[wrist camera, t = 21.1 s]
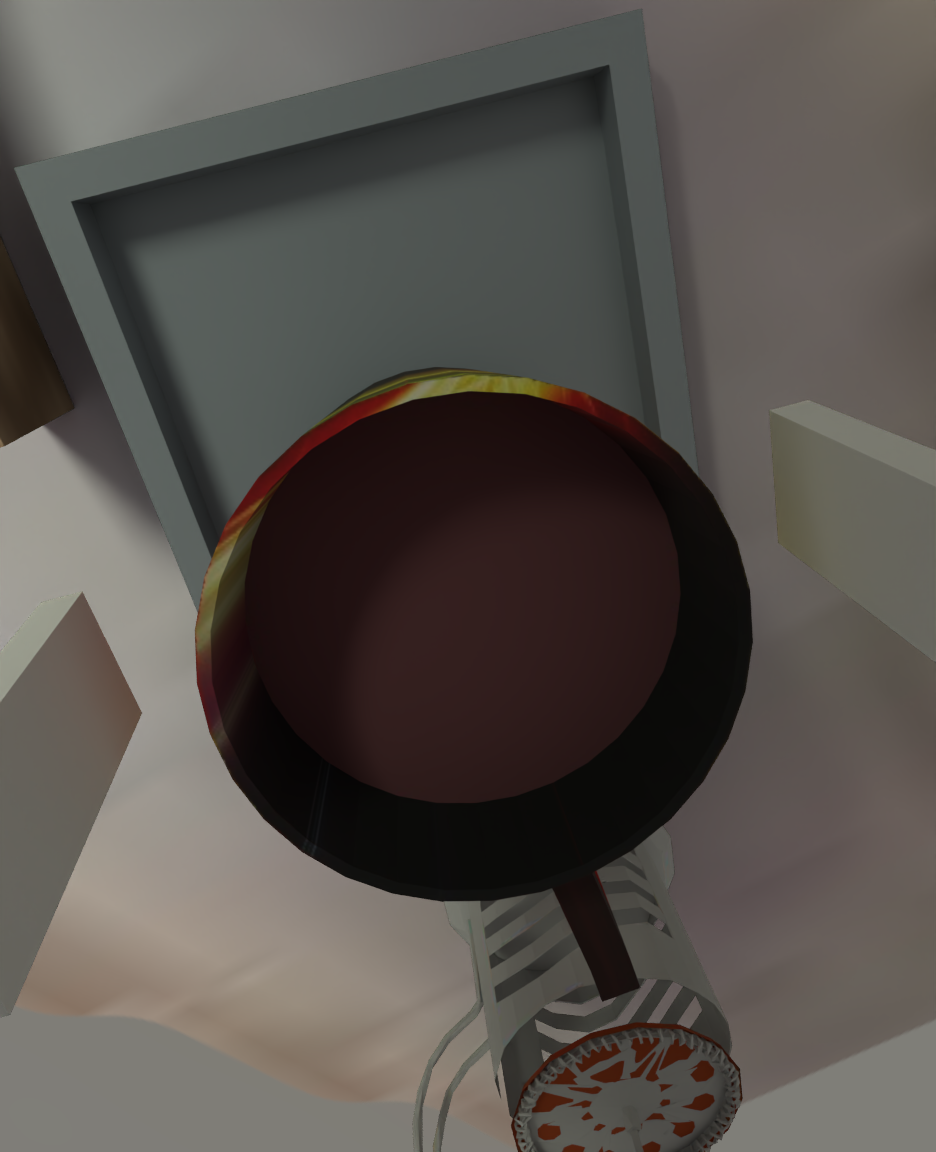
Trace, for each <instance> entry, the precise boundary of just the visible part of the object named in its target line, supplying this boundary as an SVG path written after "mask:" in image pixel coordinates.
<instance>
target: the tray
mask: <svg viewBox="0 0 936 1152" xmlns="http://www.w3.org/2000/svg"><path fill="white" fill-rule="evenodd" d="M14 169H15V172H16V174H17V176H18V179H19V181H20V184H21V186H22V189H23V191H24V193H25V196H26V198H27V201H28V203H29V205H30V208H31V210H32V213H33V215H34V218H35V220H36V222H37V225H38V227H39V230H40V232H41V234H42V237H43V239H44V242H45V244H46V247H47V249H48V251H49V254H50V256H51V259H52V261H53V264H54V266H55V268H56V271H57V273H58V276H59V278H60V280H61V283H62V285H63V288H64V290H65V293H66V295H67V297H68V300H69V302H70V305H71V307H72V309H73V312H74V314H75V317H76V319H77V322H78V324H79V326H80V329H81V331H82V334H83V336H84V338H85V341H86V343H87V346H88V348H89V351H90V353H91V355H92V358H93V360H94V363H95V365H96V367H97V370H98V372H99V375H100V377H101V380H102V382H103V384H104V387H105V389H106V392H107V394H108V396H109V399H110V401H111V404H112V406H113V409H114V411H115V413H116V416H117V418H118V421H119V423H120V425H121V428H122V430H123V433H124V435H125V438H126V440H127V442H128V445H129V447H130V450H131V452H132V454H133V457H134V459H135V462H136V464H137V467H138V469H139V471H140V474H141V476H142V479H143V481H144V483H145V486H146V488H147V491H148V493H149V496H150V498H151V500H152V503H153V505H154V508H155V510H156V513H157V515H158V517H159V520H160V522H161V525H162V527H163V529H164V532H165V534H166V537H167V539H168V542H169V544H170V546H171V549H172V551H173V554H174V556H175V558H176V561H177V563H178V566H179V568H180V571H181V573H182V575H183V578H184V580H185V583H186V585H187V587H188V590H189V592H190V595H191V597H192V600H193V602H194V604H195V607H196V609H197V612H198V610H199V604H200V599H201V593H202V587H203V582H204V576H205V574H206V571H207V569H208V567H209V564H210V562H211V559H212V557H213V554H214V552H215V550H216V547H217V545H218V542H219V540H220V537H221V535H222V532H223V530H224V528H225V525H226V523H227V522H228V521H229V519H230V518H231V516H232V515H233V513H234V512H235V510H236V509H237V507H238V506H239V504H240V503H241V502H242V500H243V499H244V497H245V496H246V494H247V493H248V491H249V490H250V488H251V487H252V485H253V484H254V483H255V481H256V480H257V478H258V477H259V476H260V475H261V474H262V473H263V472H264V471H265V470H266V469H267V468H268V467H269V466H270V465H271V464H272V463H274V462H275V461H276V460H277V459H278V458H279V457H280V456H281V455H282V454H283V453H284V452H285V451H286V450H287V449H288V448H289V447H290V446H291V445H292V444H293V443H294V442H296V441H297V440H298V439H299V438H300V437H301V436H302V435H303V434H305V433H306V432H307V431H308V430H310V429H311V428H312V427H313V426H315V425H316V424H317V423H319V422H320V421H321V420H322V419H324V418H325V417H326V416H327V415H329V414H330V413H331V412H333V411H334V410H335V409H336V408H338V407H339V406H340V405H341V404H343V403H344V402H345V401H347V400H348V399H349V398H351V397H353V396H354V395H356V394H357V393H359V392H361V391H362V390H364V389H365V388H367V387H369V386H370V385H372V384H373V383H375V382H378V381H380V380H383V379H386V378H389V377H391V376H394V375H397V374H399V373H402V372H405V371H412V370H419V369H425V368H432V367H446V368H466V369H473V370H480V371H487V372H493V373H500V374H507V375H513V376H520V377H527V378H531V379H535V380H539V381H543V382H546V383H550V384H554V385H558V386H562V387H565V388H569V389H573V390H577V391H581V392H584V393H586V394H588V395H590V396H592V397H594V398H596V399H598V400H600V401H602V402H604V403H606V404H608V405H610V406H612V407H614V408H616V409H618V410H620V411H622V412H624V413H626V414H628V415H631V416H633V417H635V418H636V419H637V420H639V421H640V422H641V423H642V424H644V425H645V426H646V427H647V428H649V429H650V430H651V431H652V432H654V433H655V434H656V435H657V436H659V437H660V438H661V439H662V440H664V441H665V442H666V443H667V444H669V445H670V446H671V447H672V448H674V449H675V450H676V451H677V452H679V453H680V455H681V456H682V457H683V458H684V460H685V461H686V462H687V463H688V465H689V466H690V467H691V468H692V469H693V471H694V472H695V473H696V474H697V476H698V477H699V471H698V463H697V455H696V447H695V439H694V430H693V422H692V414H691V406H690V398H689V390H688V381H687V373H686V365H685V357H684V349H683V341H682V332H681V324H680V316H679V308H678V300H677V292H676V283H675V275H674V267H673V259H672V251H671V243H670V234H669V226H668V218H667V210H666V202H665V194H664V185H663V177H662V169H661V161H660V153H659V145H658V136H657V128H656V120H655V112H654V104H653V96H652V87H651V79H650V71H649V63H648V55H647V47H646V38H645V30H644V22H643V14H642V9H638V10H634V11H630V12H627V13H623V14H619V15H615V16H611V17H607V18H603V19H599V20H595V21H591V22H587V23H583V24H579V25H575V26H571V27H567V28H563V29H560V30H556V31H552V32H548V33H544V34H540V35H536V36H532V37H528V38H524V39H520V40H516V41H512V42H508V43H504V44H500V45H496V46H492V47H489V48H485V49H481V50H477V51H473V52H469V53H465V54H461V55H457V56H453V57H449V58H445V59H441V60H437V61H433V62H429V63H425V64H421V65H418V66H414V67H410V68H406V69H402V70H398V71H394V72H390V73H386V74H382V75H378V76H374V77H370V78H366V79H362V80H358V81H354V82H351V83H347V84H343V85H339V86H335V87H331V88H327V89H323V90H319V91H315V92H311V93H307V94H303V95H299V96H295V97H291V98H287V99H283V100H280V101H276V102H272V103H268V104H264V105H260V106H256V107H252V108H248V109H244V110H240V111H236V112H232V113H228V114H224V115H220V116H216V117H212V118H209V119H205V120H201V121H197V122H193V123H189V124H185V125H181V126H177V127H173V128H169V129H165V130H161V131H157V132H153V133H149V134H145V135H142V136H138V137H134V138H130V139H126V140H122V141H118V142H114V143H110V144H106V145H102V146H98V147H94V148H90V149H86V150H82V151H78V152H74V153H71V154H67V155H63V156H59V157H55V158H51V159H47V160H43V161H39V162H35V163H31V164H27V165H23V166H19V167H15V168H14Z"/></svg>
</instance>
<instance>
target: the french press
mask: <svg viewBox="0 0 936 1152" xmlns="http://www.w3.org/2000/svg"><path fill="white" fill-rule="evenodd" d="M597 873H598V876H599V879H600V881H601V884H602V886H603V889H604V892H605V894H606V897H607V899H608V902H609V905H610V907H611V910H612V912H613V915H614V918H615V920H616V923H617V925H618V928H619V931H620V933H621V936H622V939H623V941H624V944H625V946H626V949H627V952H628V954H629V957H630V960H631V962H632V965H633V968H634V971H635V973H636V976H637V979H638V982H639V984H640V987H641V986H642V985H643V984H644V982H645V980H646V979H658V980H657V982H656V983H655V985H654V986H653V988H652V990H651V991H650V993H649V994H648V995H647V997H646V998H645V1000H644V1001H643V1003H642V1004H641V1006H640V1007H639V1009H638V1010H637V1012H636V1013H635V1014H634V1016H633V1017H632V1019H631V1020H630V1022H629V1023H628V1024H626V1025H622V1026H618V1027H614V1028H610V1029H605V1030H601V1031H597V1032H593V1033H590V1034H588V1035H586V1036H584V1037H582V1038H581V1039H579V1040H577V1041H575V1042H574V1043H572V1044H568V1043H560V1042H558V1041H556V1040H554V1039H552V1038H550V1037H548V1036H546V1035H544V1034H542V1033H540V1032H538V1031H537V1028H536V1023H535V1019H536V1020H538V1021H540V1022H543V1023H545V1024H547V1025H549V1026H552V1027H554V1028H556V1029H563V1030H572V1031H581V1032H591V1031H593V1030H595V1029H598V1028H600V1027H602V1026H604V1025H606V1024H609V1023H611V1022H613V1021H615V1020H617V1018H618V1017H619V1016H620V1014H621V1013H622V1012H623V1010H624V1009H625V1008H626V1006H627V1005H628V1004H629V1002H630V1001H631V1000H632V998H633V997H634V996H635V994H636V993H637V992H638V990H639V989H640V988H639V989H636V990H633V991H630V992H628V993H625V994H622V995H619V996H617V998H616V999H615V1000H614V1001H613V1003H612V1004H611V1005H608V1006H606V1007H604V1008H602V1009H600V1010H598V1011H596V1012H594V1013H592V1014H589V1015H587V1016H585V1017H583V1016H574V1015H565V1014H557V1013H552V1012H550V1011H548V1010H546V1009H544V1008H543V1007H544V1006H545V1005H547V1004H549V1003H551V1002H553V1001H555V1002H564V1003H572V1004H583V1003H585V1002H588V1001H590V1000H592V999H594V998H596V997H598V996H600V995H599V992H598V989H597V987H596V984H595V981H594V979H593V976H592V974H591V971H590V969H589V967H588V964H587V962H586V960H585V958H584V956H583V954H582V951H581V949H580V947H579V945H578V943H577V941H576V939H575V936H574V934H573V932H572V930H571V928H570V926H569V924H568V921H567V919H566V917H565V915H564V913H563V911H562V908H561V906H560V904H559V902H558V900H557V898H556V896H555V893H554V891H553V889H549V890H546V891H543V892H539V893H534V894H528V895H523V896H517V897H512V898H506V899H501V900H495V901H444V903H445V907H446V911H447V914H448V918H449V922H450V925H451V926H452V927H453V928H454V929H455V930H456V932H457V933H458V934H459V935H460V936H461V937H462V938H463V939H464V940H465V941H466V942H467V943H468V944H469V945H470V950H471V958H472V965H473V972H474V980H475V987H476V995H477V1002H476V1003H475V1005H474V1006H473V1008H472V1010H471V1011H470V1012H469V1013H468V1014H467V1015H466V1016H465V1017H464V1018H463V1019H462V1020H461V1021H460V1022H459V1023H457V1024H456V1025H455V1026H454V1027H453V1028H452V1029H451V1030H450V1031H449V1032H448V1033H447V1034H446V1035H445V1036H444V1038H443V1039H442V1041H441V1042H440V1044H439V1045H438V1047H437V1049H436V1050H435V1052H434V1053H433V1055H432V1056H431V1058H430V1059H429V1062H428V1064H427V1067H426V1070H425V1072H424V1075H423V1078H422V1081H421V1083H420V1086H419V1089H418V1092H417V1098H416V1104H415V1111H414V1118H413V1144H414V1152H423V1151H422V1150H423V1148H422V1107H423V1103H424V1099H425V1095H426V1091H427V1088H428V1084H429V1080H430V1076H431V1072H432V1069H433V1067H434V1065H435V1064H436V1062H437V1061H438V1059H439V1058H440V1056H441V1055H442V1053H443V1052H444V1050H445V1049H446V1047H447V1046H448V1044H449V1043H450V1042H451V1041H452V1040H453V1039H454V1038H455V1037H456V1036H457V1035H458V1034H459V1033H460V1032H461V1031H462V1030H463V1029H464V1028H465V1027H466V1026H467V1025H468V1024H469V1023H470V1022H471V1021H473V1020H474V1019H475V1018H476V1017H477V1015H478V1014H479V1012H480V1010H481V1008H482V1006H483V1005H484V1011H485V1017H486V1024H487V1031H488V1037H489V1038H488V1039H487V1040H486V1041H485V1042H484V1043H483V1044H482V1045H481V1046H480V1047H479V1048H478V1049H477V1050H476V1051H475V1052H474V1053H473V1054H472V1055H471V1056H470V1057H469V1058H468V1059H467V1060H466V1061H465V1062H464V1063H463V1065H462V1066H461V1068H460V1070H459V1071H458V1073H457V1074H456V1076H455V1078H454V1079H453V1081H452V1082H451V1084H450V1086H449V1087H448V1089H447V1090H446V1093H445V1097H444V1100H443V1104H442V1107H441V1111H440V1114H439V1119H438V1124H437V1129H436V1134H435V1139H434V1143H433V1152H441V1145H442V1139H443V1132H444V1125H445V1121H446V1117H447V1113H448V1109H449V1106H450V1102H451V1098H452V1094H453V1092H454V1091H455V1089H456V1088H457V1086H458V1085H459V1083H460V1082H461V1080H462V1078H463V1077H464V1075H465V1074H466V1072H467V1071H468V1069H469V1068H470V1067H471V1066H472V1065H474V1064H475V1063H476V1062H477V1061H478V1060H479V1059H480V1058H481V1057H482V1056H483V1055H484V1054H485V1053H486V1052H487V1051H488V1050H489V1049H490V1051H491V1057H492V1064H493V1071H494V1077H495V1082H496V1085H497V1088H498V1092H499V1095H500V1089H499V1082H498V1076H497V1071H498V1068H499V1064H500V1061H501V1063H502V1069H503V1075H504V1082H505V1088H506V1094H507V1101H508V1107H509V1113H510V1116H511V1117H512V1118H513V1121H512V1124H511V1128H512V1131H513V1135H514V1139H515V1142H516V1146H517V1150H518V1152H710V1149H711V1146H712V1145H713V1144H716V1143H717V1140H718V1139H720V1140H722V1137H723V1134H724V1133H725V1132H726V1131H728V1129H729V1127H730V1125H731V1123H732V1122H733V1119H734V1118H735V1114H736V1112H737V1110H738V1108H739V1107H740V1104H741V1101H742V1088H741V1077H740V1069H739V1067H738V1066H737V1065H736V1064H735V1062H734V1061H733V1060H732V1059H731V1057H730V1056H729V1055H730V1052H731V1048H732V1042H731V1037H730V1031H729V1026H728V1022H727V1020H726V1018H725V1016H724V1014H723V1011H722V1009H721V1007H720V1005H719V1003H718V1000H717V998H716V996H715V994H714V992H713V990H712V987H711V985H710V983H709V981H708V979H707V976H706V974H705V972H704V970H703V968H702V966H701V963H700V961H699V959H698V957H697V955H696V952H695V950H694V948H693V946H692V944H691V942H690V939H689V937H688V935H687V933H686V931H685V928H684V926H683V924H682V922H681V920H680V918H679V915H678V913H677V911H676V909H675V907H674V904H673V902H672V900H671V898H670V896H669V894H668V889H669V886H670V883H671V881H672V878H673V875H674V873H675V871H674V862H673V854H672V845H671V837H670V835H669V834H668V833H667V831H666V830H665V829H664V827H663V826H662V827H660V828H659V829H658V830H657V831H655V832H654V833H653V834H652V835H651V836H649V837H648V838H647V839H646V840H644V841H643V842H642V843H641V844H640V845H638V846H637V847H636V848H635V849H633V850H632V851H631V852H629V853H627V854H625V855H623V856H622V857H620V858H618V859H616V860H615V861H613V862H611V863H609V864H607V865H606V866H604V867H602V868H600V869H599V870H597ZM657 919H659V920H661V921H662V922H664V923H665V925H664V927H663V929H662V931H661V930H659V929H657V928H656V927H654V924H655V923H656V921H657ZM673 981H674V982H676V983H678V984H680V985H682V986H683V988H682V989H681V991H680V992H679V994H678V996H677V997H676V999H675V1000H674V1002H673V1003H672V1005H671V1006H670V1008H669V1009H668V1011H667V1012H666V1014H665V1015H664V1017H663V1019H662V1020H661V1022H660V1023H646V1022H647V1021H648V1019H649V1017H650V1016H651V1014H652V1013H653V1011H654V1010H655V1008H656V1007H657V1005H658V1004H659V1002H660V1000H661V999H662V997H663V996H664V994H665V993H666V991H667V990H668V988H669V987H670V985H671V984H672V982H673ZM695 995H696V997H697V999H698V1001H699V1004H700V1006H701V1008H702V1012H701V1013H700V1015H699V1016H698V1018H697V1019H696V1020H695V1022H694V1023H693V1025H692V1026H691V1028H690V1029H688V1028H686V1027H684V1026H681V1025H678V1024H677V1022H678V1021H679V1019H680V1018H681V1016H682V1015H683V1013H684V1012H685V1010H686V1009H687V1007H688V1006H689V1004H690V1003H691V1001H692V1000H693V998H694V997H695ZM541 1049H542V1050H544V1051H546V1052H549V1053H551V1054H552V1055H550V1056H549V1058H548V1059H547V1060H546V1061H545V1062H544V1061H543V1056H542V1052H541ZM500 1098H501V1095H500Z"/></svg>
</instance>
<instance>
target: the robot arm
mask: <svg viewBox="0 0 936 1152" xmlns="http://www.w3.org/2000/svg"><path fill="white" fill-rule="evenodd" d="M769 415H770V429H771V444H772V458H773V473H774V487H775V502H776V516H777V531H778V543H779V544H781V545H782V546H783V547H784V548H786V549H787V550H788V551H790V552H791V553H792V554H794V555H795V556H796V557H798V558H799V559H800V560H802V561H803V562H804V563H805V564H807V565H808V566H809V567H811V568H812V569H813V570H815V571H816V572H817V573H819V574H820V575H821V576H823V577H824V578H825V579H826V580H828V581H829V582H830V583H832V584H833V585H834V586H836V587H837V588H838V589H840V590H841V591H842V592H843V593H845V594H846V595H847V596H849V597H850V598H851V599H853V600H854V601H855V602H857V603H858V604H859V605H861V606H862V607H863V608H864V609H866V610H867V611H868V612H870V613H871V614H872V615H874V616H875V617H876V618H878V619H879V620H880V621H882V622H883V623H884V624H885V625H887V626H888V627H889V628H891V629H892V630H893V631H895V632H896V633H897V634H899V635H900V636H901V637H903V638H904V639H905V640H906V641H908V642H909V643H910V644H912V645H913V646H914V647H916V648H917V649H918V650H920V651H921V652H922V653H924V654H925V655H926V656H927V657H929V658H930V659H931V660H933V661H934V662H935V663H936V450H934V449H931V448H929V447H926V446H924V445H921V444H919V443H916V442H914V441H911V440H909V439H906V438H903V437H901V436H898V435H896V434H893V433H891V432H888V431H886V430H883V429H881V428H878V427H876V426H873V425H871V424H868V423H866V422H863V421H860V420H858V419H855V418H853V417H850V416H848V415H845V414H843V413H840V412H838V411H835V410H833V409H830V408H828V407H825V406H822V405H820V404H817V403H815V402H812V401H810V400H806V401H803V402H799V403H795V404H791V405H788V406H784V407H780V408H776V409H772V410H769ZM141 714H142V712H141V710H140V708H139V706H138V704H137V702H136V700H135V698H134V696H133V694H132V692H131V690H130V688H129V686H128V684H127V682H126V680H125V678H124V676H123V674H122V671H121V669H120V667H119V665H118V663H117V661H116V659H115V657H114V655H113V653H112V651H111V649H110V647H109V645H108V643H107V641H106V639H105V637H104V635H103V633H102V631H101V629H100V627H99V625H98V623H97V621H96V618H95V616H94V614H93V612H92V610H91V608H90V606H89V604H88V602H87V600H86V598H85V596H84V594H83V592H79V593H75V594H71V595H67V596H63V597H60V598H56V599H52V600H48V601H44V602H41V603H40V605H39V606H38V607H37V608H36V609H35V611H34V612H33V613H32V614H31V616H30V617H29V618H28V619H27V620H26V622H25V623H24V624H23V625H22V626H21V628H20V629H19V630H18V631H17V632H16V634H15V635H14V636H13V637H12V638H11V640H10V641H9V642H8V643H7V645H6V646H5V647H4V648H3V649H2V651H1V652H0V1017H4V1016H8V1015H10V1014H11V1012H12V1010H13V1007H14V1005H15V1003H16V1001H17V998H18V996H19V994H20V991H21V989H22V987H23V984H24V982H25V980H26V978H27V975H28V973H29V971H30V968H31V966H32V964H33V962H34V959H35V957H36V955H37V952H38V950H39V948H40V945H41V943H42V941H43V939H44V936H45V934H46V932H47V929H48V927H49V925H50V923H51V920H52V918H53V916H54V913H55V911H56V909H57V907H58V904H59V902H60V900H61V897H62V895H63V893H64V890H65V888H66V886H67V884H68V881H69V879H70V877H71V874H72V872H73V870H74V868H75V865H76V863H77V861H78V858H79V856H80V854H81V852H82V849H83V847H84V845H85V842H86V840H87V838H88V835H89V833H90V831H91V829H92V826H93V824H94V822H95V819H96V817H97V815H98V813H99V810H100V808H101V806H102V803H103V801H104V799H105V796H106V794H107V792H108V790H109V787H110V785H111V783H112V780H113V778H114V776H115V774H116V771H117V769H118V767H119V764H120V762H121V760H122V758H123V755H124V753H125V751H126V748H127V746H128V744H129V741H130V739H131V737H132V735H133V732H134V730H135V728H136V725H137V723H138V721H139V719H140V716H141Z"/></svg>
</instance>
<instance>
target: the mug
mask: <svg viewBox="0 0 936 1152" xmlns="http://www.w3.org/2000/svg"><path fill="white" fill-rule="evenodd" d="M752 643H753V638H752V619H751V600H750V589H749V585H748V582H747V578H746V574H745V570H744V567H743V563H742V559H741V555H740V551H739V548H738V544H737V541H736V539H735V537H734V535H733V533H732V531H731V529H730V527H729V525H728V523H727V521H726V519H725V517H724V515H723V513H722V511H721V509H720V507H719V505H718V503H717V501H716V500H715V498H714V496H713V494H712V493H711V491H710V490H709V489H708V488H707V487H706V485H705V484H704V483H703V482H702V480H701V479H700V478H699V477H698V476H697V474H696V473H695V472H694V471H693V469H692V468H691V467H690V466H689V465H688V463H687V462H686V461H685V460H684V458H683V457H682V456H681V455H680V453H679V452H677V451H676V450H675V449H674V448H672V447H671V446H670V445H669V444H667V443H666V442H665V441H664V440H662V439H661V438H660V437H659V436H657V435H656V434H655V433H654V432H652V431H651V430H650V429H649V428H647V427H646V426H645V425H644V424H642V423H641V422H640V421H639V420H637V419H636V418H635V417H633V416H631V415H628V414H626V413H624V412H622V411H620V410H618V409H616V408H614V407H612V406H610V405H608V404H606V403H604V402H602V401H600V400H598V399H596V398H594V397H592V396H590V395H588V394H586V393H584V392H581V391H577V390H573V389H569V388H565V387H562V386H558V385H554V384H550V383H546V382H543V381H539V380H535V379H531V378H527V377H520V376H513V375H507V374H500V373H493V372H487V371H480V370H473V369H466V368H446V367H432V368H425V369H419V370H412V371H405V372H402V373H399V374H397V375H394V376H391V377H389V378H386V379H383V380H380V381H378V382H375V383H373V384H372V385H370V386H369V387H367V388H365V389H364V390H362V391H361V392H359V393H357V394H356V395H354V396H353V397H351V398H349V399H348V400H347V401H345V402H344V403H343V404H341V405H340V406H339V407H338V408H336V409H335V410H334V411H333V412H331V413H330V414H329V415H327V416H326V417H325V418H324V419H322V420H321V421H320V422H319V423H317V424H316V425H315V426H313V427H312V428H311V429H310V430H308V431H307V432H306V433H305V434H303V435H302V436H301V437H300V438H299V439H298V440H297V441H296V442H294V443H293V444H292V445H291V446H290V447H289V448H288V449H287V450H286V451H285V452H284V453H283V454H282V455H281V456H280V457H279V458H278V459H277V460H276V461H275V462H274V463H272V464H271V465H270V466H269V467H268V468H267V469H266V470H265V471H264V472H263V473H262V474H261V475H260V476H259V477H258V478H257V480H256V481H255V483H254V484H253V485H252V487H251V488H250V490H249V491H248V493H247V494H246V496H245V497H244V499H243V500H242V502H241V503H240V504H239V506H238V507H237V509H236V510H235V512H234V513H233V515H232V516H231V518H230V519H229V521H228V522H227V523H226V525H225V528H224V530H223V532H222V535H221V537H220V540H219V542H218V545H217V547H216V550H215V552H214V554H213V557H212V559H211V562H210V564H209V567H208V569H207V571H206V574H205V576H204V582H203V587H202V593H201V599H200V604H199V610H198V616H197V621H196V627H195V646H196V671H197V685H198V689H199V693H200V697H201V701H202V705H203V709H204V712H205V716H206V720H207V724H208V728H209V732H210V735H211V737H212V739H213V741H214V743H215V745H216V747H217V749H218V751H219V753H220V755H221V757H222V759H223V761H224V763H225V765H226V767H227V769H228V771H229V773H230V775H231V777H232V779H233V780H234V782H235V783H236V784H237V786H238V787H239V788H240V789H241V791H242V792H243V793H244V794H245V796H246V797H247V798H248V800H249V801H250V802H251V803H252V805H253V806H254V807H255V808H256V810H257V811H258V812H259V814H260V815H261V816H262V817H263V819H264V820H265V821H267V822H268V823H269V824H270V825H271V826H272V827H274V828H275V829H276V830H277V831H278V832H279V833H281V834H282V835H283V836H284V837H285V838H286V839H288V840H289V841H290V842H291V843H292V844H293V845H295V846H296V847H297V848H298V849H299V850H300V851H302V852H303V853H305V854H306V855H308V856H310V857H312V858H313V859H315V860H317V861H319V862H320V863H322V864H324V865H326V866H327V867H329V868H331V869H333V870H334V871H336V872H338V873H340V874H341V875H343V876H345V877H347V878H350V879H353V880H356V881H359V882H362V883H364V884H367V885H370V886H373V887H376V888H379V889H382V890H384V891H387V892H390V893H393V894H399V895H405V896H411V897H418V898H424V899H430V900H436V901H442V902H443V901H495V900H501V899H506V898H512V897H517V896H523V895H528V894H534V893H539V892H543V891H546V890H549V889H553V891H554V893H555V896H556V898H557V900H558V902H559V904H560V906H561V908H562V911H563V913H564V915H565V917H566V919H567V921H568V924H569V926H570V928H571V930H572V932H573V934H574V936H575V939H576V941H577V943H578V945H579V947H580V949H581V951H582V954H583V956H584V958H585V960H586V962H587V964H588V967H589V969H590V971H591V974H592V976H593V979H594V981H595V984H596V987H597V989H598V992H599V995H600V997H601V1000H602V1002H603V1001H605V1000H608V999H611V998H614V997H616V996H619V995H622V994H625V993H628V992H630V991H633V990H636V989H639V988H641V987H640V984H639V982H638V979H637V976H636V973H635V971H634V968H633V965H632V962H631V960H630V957H629V954H628V952H627V949H626V946H625V944H624V941H623V939H622V936H621V933H620V931H619V928H618V925H617V923H616V920H615V918H614V915H613V912H612V910H611V907H610V905H609V902H608V899H607V897H606V894H605V892H604V889H603V886H602V884H601V881H600V879H599V876H598V873H597V870H599V869H600V868H602V867H604V866H606V865H607V864H609V863H611V862H613V861H615V860H616V859H618V858H620V857H622V856H623V855H625V854H627V853H629V852H631V851H632V850H633V849H635V848H636V847H637V846H638V845H640V844H641V843H642V842H643V841H644V840H646V839H647V838H648V837H649V836H651V835H652V834H653V833H654V832H655V831H657V830H658V829H659V828H660V827H662V826H663V825H664V824H665V823H667V822H668V821H669V820H670V819H671V818H672V817H673V816H674V815H675V814H676V812H677V811H678V810H679V809H680V808H681V807H682V805H683V804H684V803H685V802H686V801H687V800H688V798H689V797H690V796H691V795H692V794H693V793H694V791H695V790H696V789H697V788H698V787H699V786H700V785H701V783H702V782H703V781H704V779H705V777H706V776H707V774H708V772H709V771H710V769H711V767H712V766H713V764H714V762H715V760H716V759H717V757H718V755H719V754H720V752H721V750H722V749H723V747H724V745H725V743H726V742H727V740H728V738H729V735H730V733H731V730H732V727H733V724H734V721H735V719H736V716H737V713H738V710H739V707H740V705H741V702H742V699H743V696H744V693H745V690H746V683H747V676H748V670H749V663H750V656H751V650H752Z"/></svg>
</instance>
